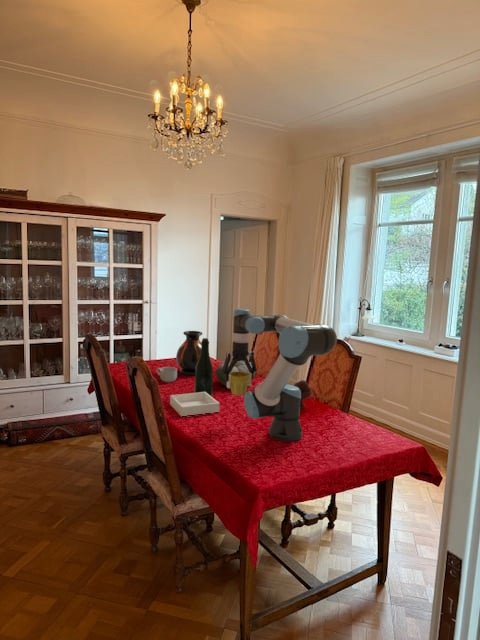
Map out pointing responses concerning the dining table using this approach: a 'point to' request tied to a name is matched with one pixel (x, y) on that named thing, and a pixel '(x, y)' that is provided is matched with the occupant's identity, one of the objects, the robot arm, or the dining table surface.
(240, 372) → the plant pot
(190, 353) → the amphora vase
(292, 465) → the dining table surface
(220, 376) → the gourd
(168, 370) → the teacup
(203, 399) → the bin
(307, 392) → the ice cream bowl
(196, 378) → the beer bottle
